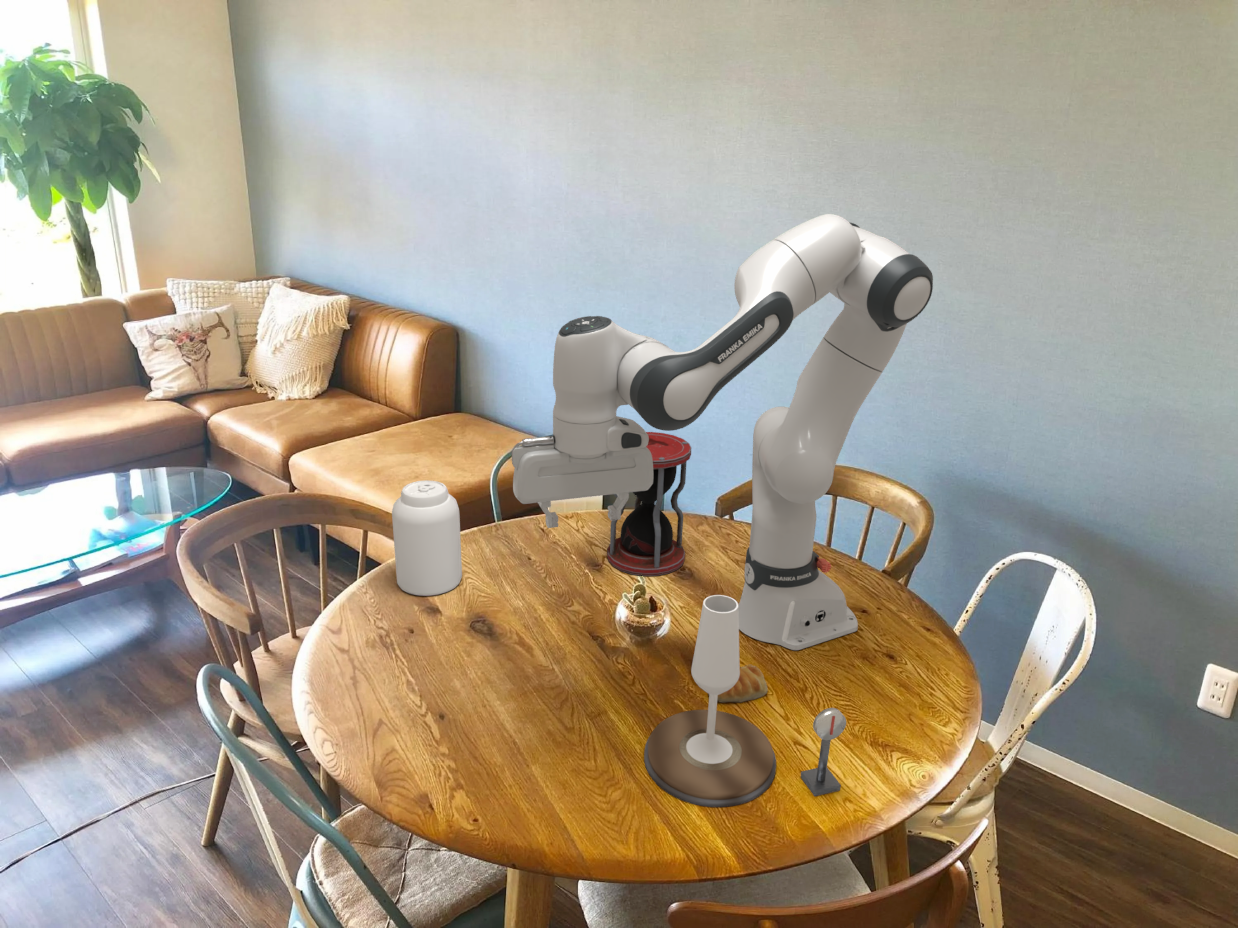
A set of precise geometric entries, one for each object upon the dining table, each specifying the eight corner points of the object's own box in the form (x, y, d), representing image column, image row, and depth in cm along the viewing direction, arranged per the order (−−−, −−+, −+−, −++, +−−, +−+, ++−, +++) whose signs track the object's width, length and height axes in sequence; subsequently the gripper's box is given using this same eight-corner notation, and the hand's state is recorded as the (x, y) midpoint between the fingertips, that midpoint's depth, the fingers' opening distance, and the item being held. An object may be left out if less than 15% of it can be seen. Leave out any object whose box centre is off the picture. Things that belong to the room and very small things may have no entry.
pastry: (721, 712, 144) (723, 692, 143) (698, 689, 150) (700, 669, 148) (770, 696, 148) (772, 676, 147) (746, 674, 154) (748, 655, 152)
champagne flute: (685, 761, 130) (695, 615, 121) (686, 731, 136) (695, 589, 127) (733, 765, 130) (746, 618, 120) (732, 734, 136) (744, 592, 127)
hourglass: (670, 536, 200) (676, 428, 190) (695, 572, 185) (703, 457, 176) (598, 544, 196) (600, 433, 186) (618, 580, 181) (622, 463, 172)
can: (412, 562, 186) (406, 471, 178) (471, 570, 184) (468, 478, 176) (385, 592, 175) (378, 496, 167) (448, 601, 172) (443, 504, 165)
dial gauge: (826, 771, 132) (836, 697, 127) (841, 790, 128) (852, 715, 124) (799, 777, 131) (808, 703, 126) (813, 796, 127) (823, 721, 122)
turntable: (741, 708, 145) (742, 698, 144) (799, 790, 128) (801, 779, 127) (626, 730, 139) (627, 719, 138) (672, 819, 122) (673, 807, 122)
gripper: (516, 447, 123) (518, 540, 128) (659, 434, 129) (655, 523, 134) (506, 432, 129) (508, 521, 134) (644, 420, 135) (641, 505, 140)
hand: (583, 522), depth 134 cm, fingers open, 8 cm apart
